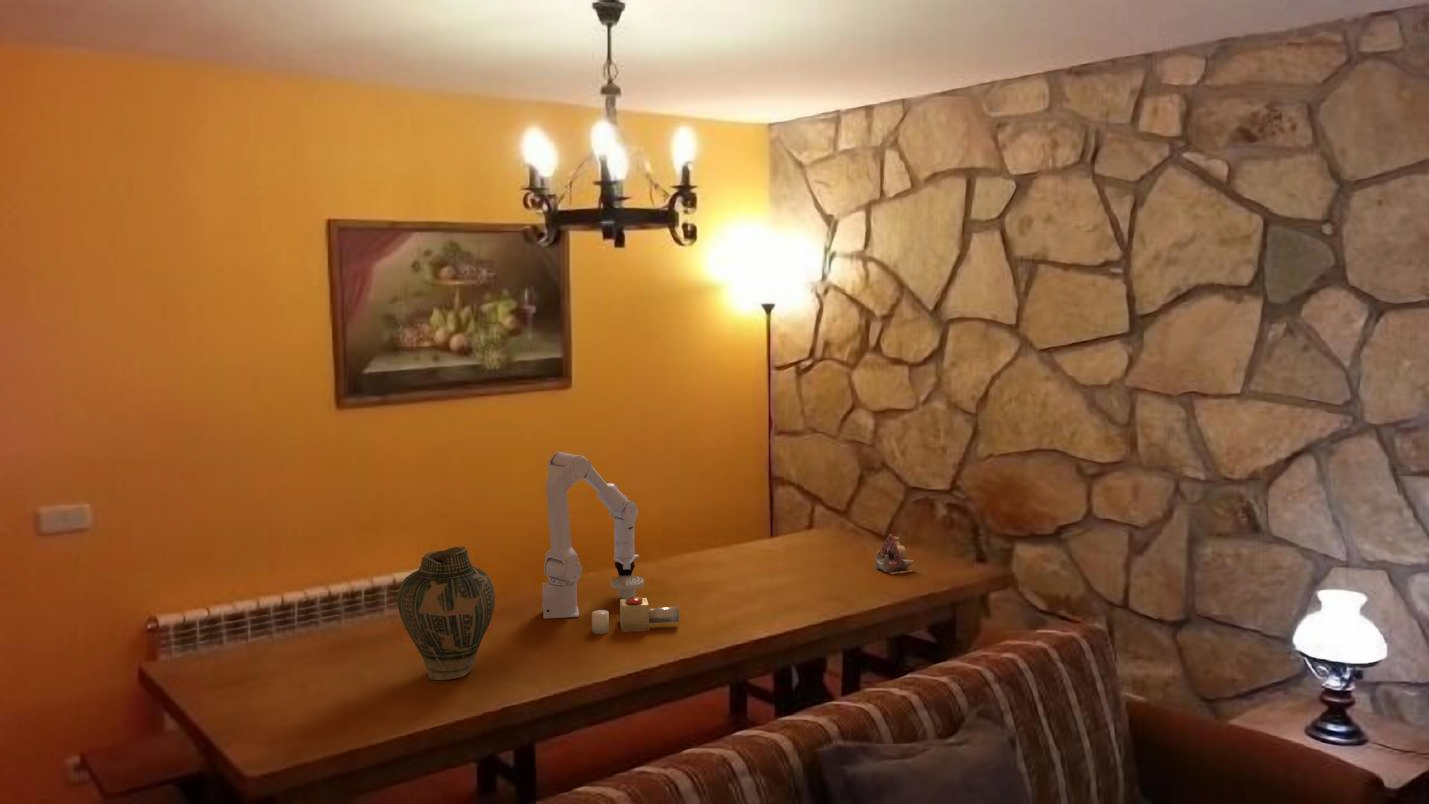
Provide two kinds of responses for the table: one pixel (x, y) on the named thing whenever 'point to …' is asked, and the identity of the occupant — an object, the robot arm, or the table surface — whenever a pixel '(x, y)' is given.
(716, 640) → the table surface
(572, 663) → the table surface
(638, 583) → the showerhead
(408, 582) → the vase
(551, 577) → the robot arm
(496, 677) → the table surface
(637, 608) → the beige red button device
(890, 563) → the grey pink figurine
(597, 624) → the pvc coupling
